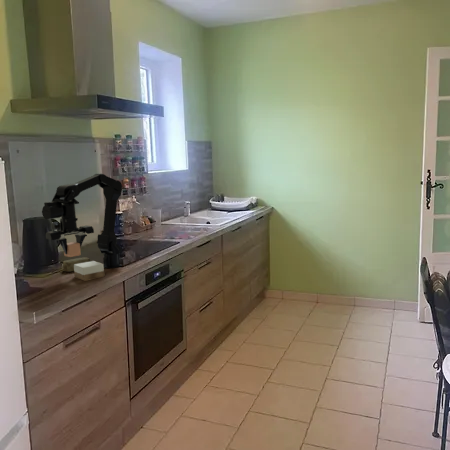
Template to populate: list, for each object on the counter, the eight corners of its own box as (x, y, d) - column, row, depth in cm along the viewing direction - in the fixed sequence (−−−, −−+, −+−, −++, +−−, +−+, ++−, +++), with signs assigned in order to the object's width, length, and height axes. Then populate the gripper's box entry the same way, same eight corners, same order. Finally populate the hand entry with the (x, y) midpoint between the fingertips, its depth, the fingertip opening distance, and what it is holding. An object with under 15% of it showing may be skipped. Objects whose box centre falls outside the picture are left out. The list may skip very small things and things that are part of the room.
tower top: (94, 267, 201) (93, 260, 201) (103, 270, 195) (103, 263, 194) (74, 271, 195) (73, 264, 195) (83, 275, 189) (82, 267, 188)
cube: (75, 253, 197) (74, 241, 196) (80, 254, 194) (79, 243, 193) (64, 255, 194) (62, 243, 193) (69, 257, 190) (68, 245, 189)
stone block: (91, 268, 211) (90, 257, 210) (67, 273, 203) (66, 262, 203) (85, 266, 215) (85, 256, 214) (61, 271, 208) (60, 260, 207)
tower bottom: (93, 274, 202) (93, 267, 201) (104, 277, 196) (104, 270, 195) (74, 278, 196) (74, 271, 195) (85, 282, 189) (84, 275, 189)
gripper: (80, 211, 203) (83, 246, 206) (38, 217, 190) (42, 254, 193) (92, 213, 195) (96, 249, 198) (49, 219, 182) (53, 258, 185)
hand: (72, 252), depth 194 cm, fingers closed on cube, 5 cm apart
